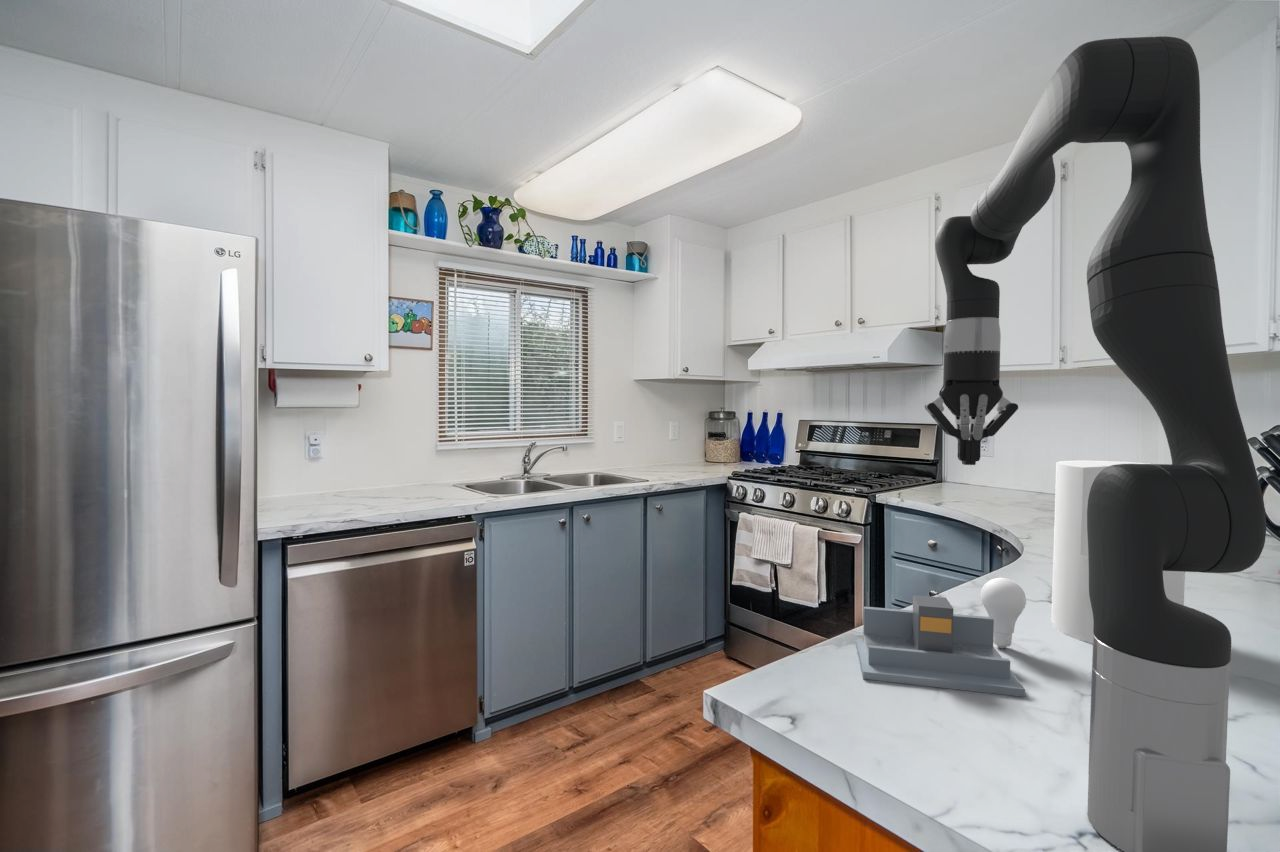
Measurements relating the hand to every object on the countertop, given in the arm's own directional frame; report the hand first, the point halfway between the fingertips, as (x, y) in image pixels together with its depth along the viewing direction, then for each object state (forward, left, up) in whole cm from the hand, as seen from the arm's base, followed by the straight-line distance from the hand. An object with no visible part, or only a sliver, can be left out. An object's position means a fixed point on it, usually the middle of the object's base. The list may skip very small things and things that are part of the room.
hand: (968, 464), depth 94 cm
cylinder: (+15, -26, -29) cm, 42 cm away
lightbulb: (+3, -6, -29) cm, 30 cm away
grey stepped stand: (-8, +6, -29) cm, 31 cm away
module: (-7, +6, -26) cm, 28 cm away
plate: (-7, +6, -28) cm, 29 cm away
